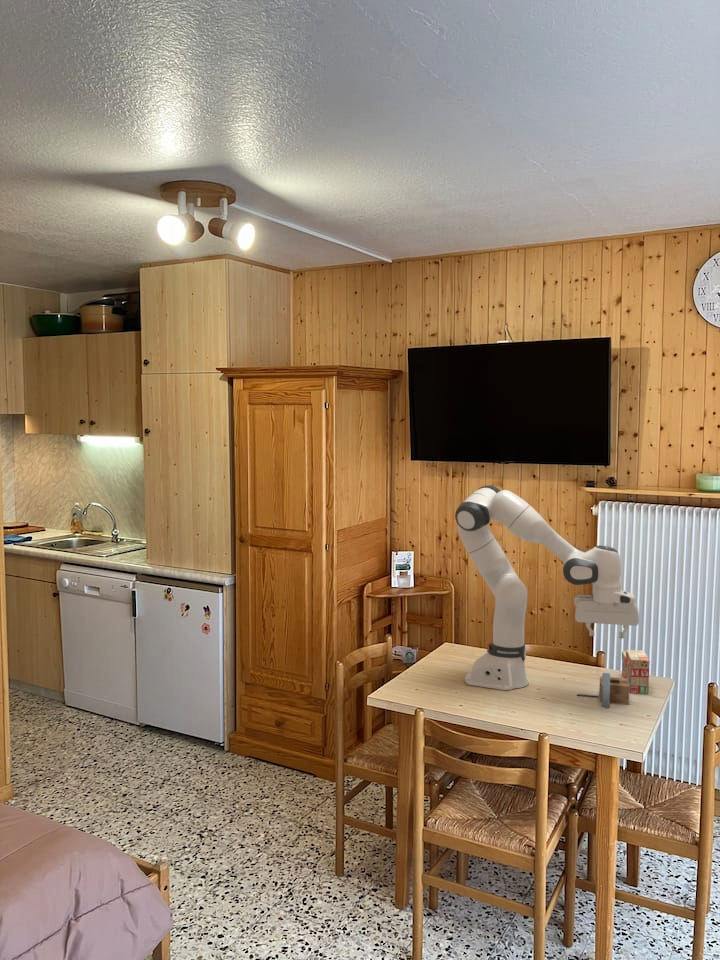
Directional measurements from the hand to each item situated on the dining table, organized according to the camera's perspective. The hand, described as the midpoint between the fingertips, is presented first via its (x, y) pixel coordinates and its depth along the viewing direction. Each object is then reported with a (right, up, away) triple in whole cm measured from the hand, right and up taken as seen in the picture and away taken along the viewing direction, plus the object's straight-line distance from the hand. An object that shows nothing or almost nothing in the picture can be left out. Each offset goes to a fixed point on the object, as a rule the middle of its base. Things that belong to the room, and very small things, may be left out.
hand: (606, 636), depth 257 cm
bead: (+5, -23, +8) cm, 24 cm away
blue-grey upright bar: (-1, -23, 0) cm, 23 cm away
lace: (-3, -22, +10) cm, 25 cm away
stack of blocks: (+17, -22, +23) cm, 36 cm away
